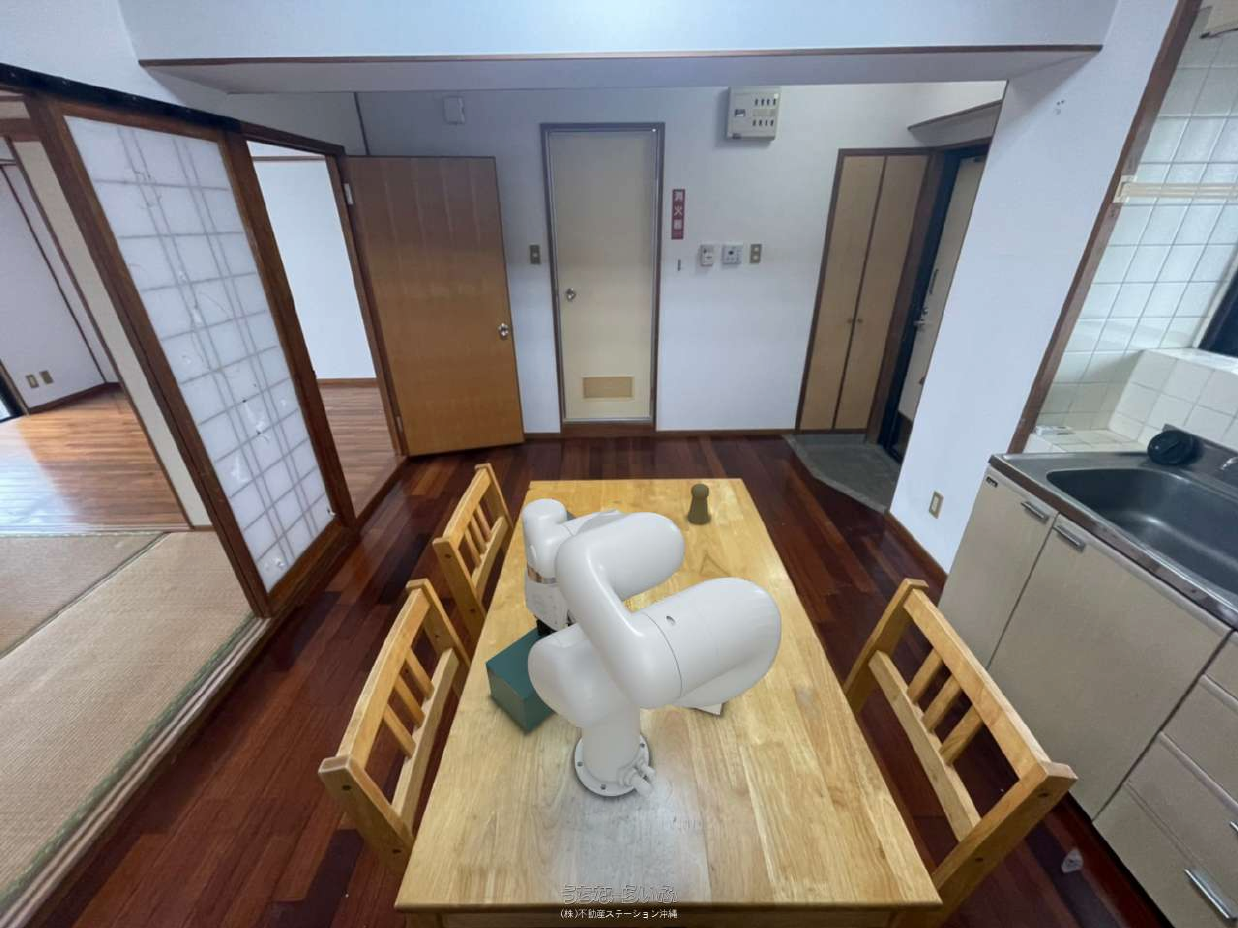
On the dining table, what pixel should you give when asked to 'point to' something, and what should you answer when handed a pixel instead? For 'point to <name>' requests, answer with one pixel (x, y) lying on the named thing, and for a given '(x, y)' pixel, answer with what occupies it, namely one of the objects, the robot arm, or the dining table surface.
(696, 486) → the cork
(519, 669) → the lid
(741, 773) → the dining table surface
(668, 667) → the robot arm
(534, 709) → the teal open box
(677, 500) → the dining table surface
